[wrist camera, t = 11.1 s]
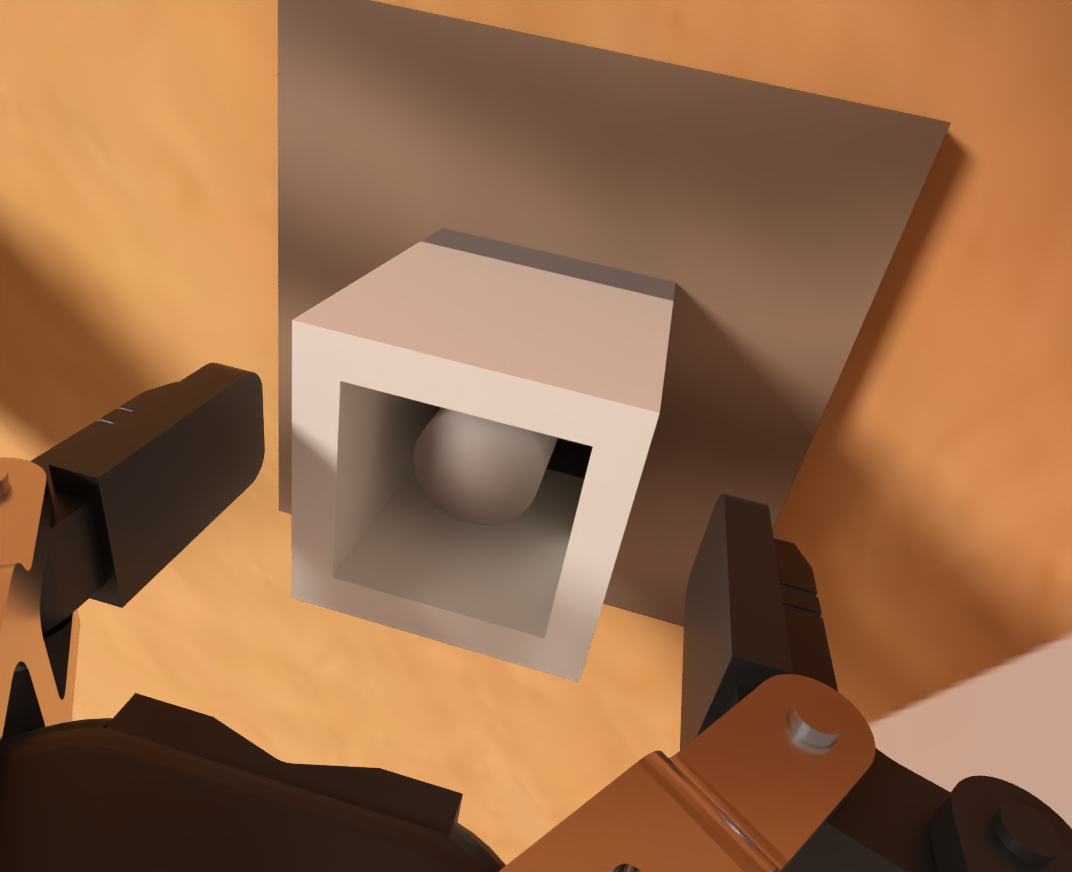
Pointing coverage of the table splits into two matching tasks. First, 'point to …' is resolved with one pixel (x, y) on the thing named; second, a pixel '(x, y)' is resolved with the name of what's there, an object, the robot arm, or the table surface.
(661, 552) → the pin plate
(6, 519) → the robot arm
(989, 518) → the table surface
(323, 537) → the sleeve
